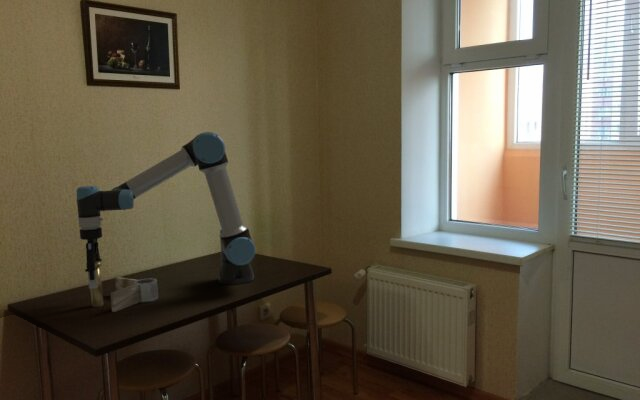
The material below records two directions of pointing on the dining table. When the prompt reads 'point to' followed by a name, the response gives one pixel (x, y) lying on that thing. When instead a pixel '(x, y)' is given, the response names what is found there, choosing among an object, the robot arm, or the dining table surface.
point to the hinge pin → (97, 292)
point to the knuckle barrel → (147, 289)
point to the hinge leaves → (124, 294)
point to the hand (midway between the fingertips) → (95, 283)
